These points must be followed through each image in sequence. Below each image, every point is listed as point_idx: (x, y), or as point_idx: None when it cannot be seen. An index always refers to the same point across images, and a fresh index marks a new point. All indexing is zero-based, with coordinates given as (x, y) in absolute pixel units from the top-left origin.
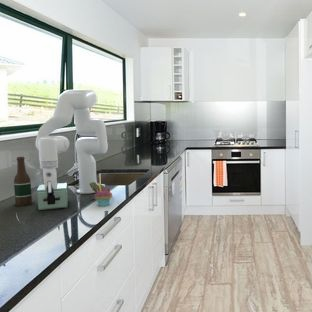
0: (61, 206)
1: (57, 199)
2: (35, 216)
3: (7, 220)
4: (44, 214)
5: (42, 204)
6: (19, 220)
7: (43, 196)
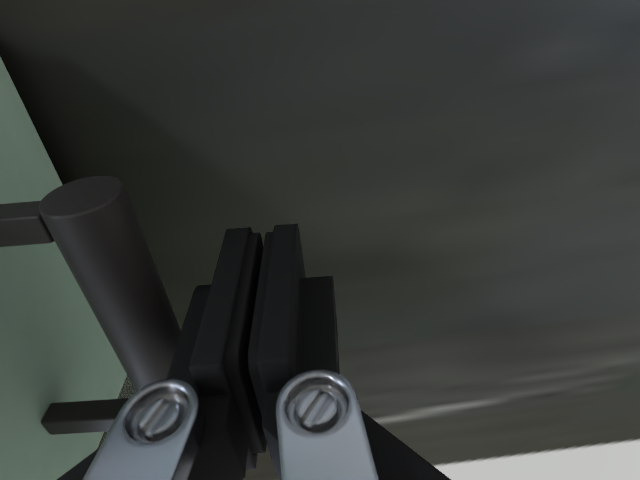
0: (17, 100)
1: (140, 232)
2: (397, 321)
3: (433, 455)
4: (341, 258)
5: (107, 360)
6: (485, 400)
7: (42, 465)
